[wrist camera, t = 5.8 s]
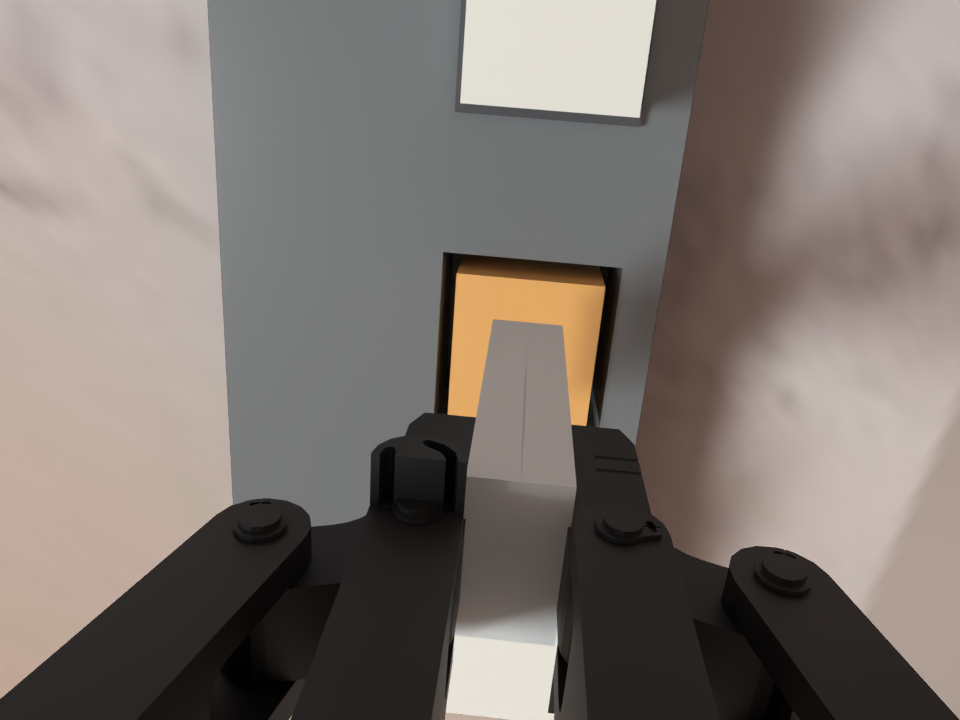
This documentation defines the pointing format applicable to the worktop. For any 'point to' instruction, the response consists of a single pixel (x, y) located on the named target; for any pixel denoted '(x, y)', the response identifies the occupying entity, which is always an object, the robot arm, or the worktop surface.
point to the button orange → (524, 320)
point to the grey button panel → (430, 225)
